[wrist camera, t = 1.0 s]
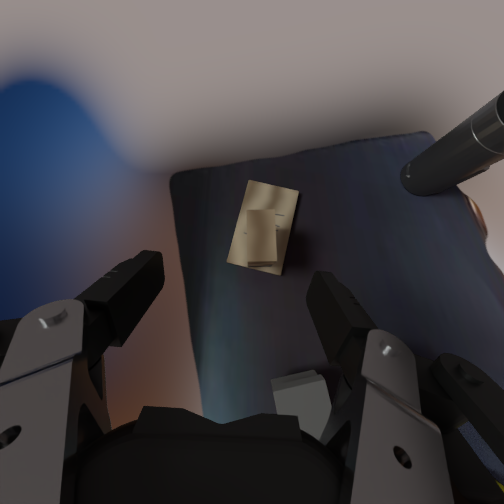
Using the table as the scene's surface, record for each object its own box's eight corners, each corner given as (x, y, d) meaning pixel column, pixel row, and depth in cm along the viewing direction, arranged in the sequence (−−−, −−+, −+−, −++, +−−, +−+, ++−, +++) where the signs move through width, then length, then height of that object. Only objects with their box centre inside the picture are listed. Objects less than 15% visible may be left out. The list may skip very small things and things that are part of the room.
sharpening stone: (337, 493, 33) (379, 596, 22) (296, 504, 33) (318, 614, 22) (303, 351, 37) (324, 379, 26) (266, 359, 37) (272, 391, 26)
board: (297, 193, 43) (298, 191, 41) (279, 275, 39) (280, 275, 38) (248, 182, 43) (248, 179, 42) (227, 262, 40) (226, 261, 39)
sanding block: (269, 226, 40) (275, 208, 30) (270, 266, 38) (277, 261, 29) (247, 227, 40) (245, 209, 30) (247, 267, 38) (246, 262, 29)
